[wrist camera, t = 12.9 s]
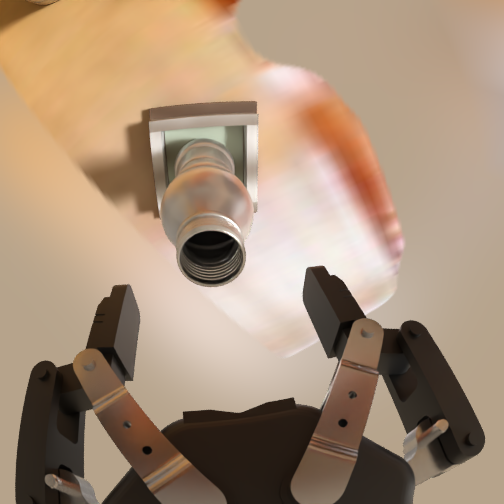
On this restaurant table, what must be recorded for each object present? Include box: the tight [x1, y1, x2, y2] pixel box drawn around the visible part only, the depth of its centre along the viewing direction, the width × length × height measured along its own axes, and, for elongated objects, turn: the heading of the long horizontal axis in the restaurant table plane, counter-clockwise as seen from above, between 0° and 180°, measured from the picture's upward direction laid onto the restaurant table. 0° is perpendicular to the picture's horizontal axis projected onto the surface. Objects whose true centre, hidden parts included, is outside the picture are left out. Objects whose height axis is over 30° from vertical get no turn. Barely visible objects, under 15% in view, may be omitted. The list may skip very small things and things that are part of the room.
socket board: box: [149, 101, 258, 220], centre depth 31 cm, size 14×12×4 cm
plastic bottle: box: [160, 138, 254, 287], centre depth 23 cm, size 6×7×20 cm
